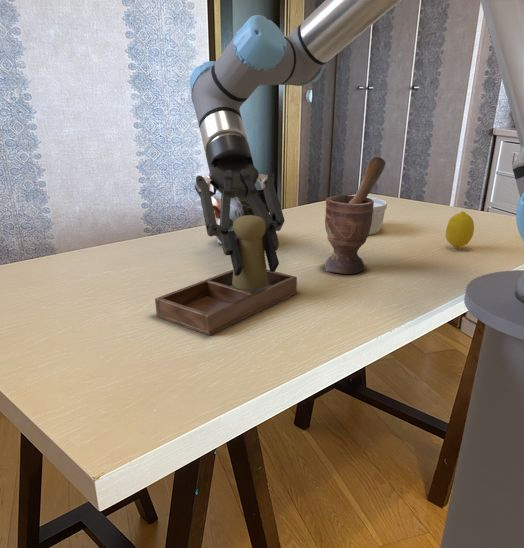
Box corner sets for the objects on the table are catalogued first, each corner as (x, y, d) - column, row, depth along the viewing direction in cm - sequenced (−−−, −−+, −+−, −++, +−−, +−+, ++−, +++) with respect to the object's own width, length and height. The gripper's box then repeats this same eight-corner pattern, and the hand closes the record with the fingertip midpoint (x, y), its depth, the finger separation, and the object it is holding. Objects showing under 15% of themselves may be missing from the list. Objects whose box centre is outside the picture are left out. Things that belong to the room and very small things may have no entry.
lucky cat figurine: (276, 250, 112) (250, 196, 103) (225, 271, 115) (195, 220, 105) (269, 215, 123) (244, 162, 114) (222, 235, 126) (195, 185, 116)
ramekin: (394, 229, 129) (397, 200, 126) (365, 240, 120) (368, 209, 117) (348, 221, 136) (350, 193, 133) (318, 231, 128) (319, 201, 125)
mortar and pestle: (342, 256, 109) (349, 153, 100) (381, 263, 105) (392, 156, 96) (314, 270, 101) (319, 159, 92) (355, 279, 96) (365, 163, 87)
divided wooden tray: (296, 293, 90) (297, 276, 88) (209, 335, 75) (208, 316, 73) (246, 280, 96) (246, 264, 94) (156, 316, 81) (154, 298, 80)
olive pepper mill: (273, 286, 86) (274, 219, 81) (238, 291, 85) (236, 222, 80) (261, 275, 91) (261, 211, 86) (227, 279, 90) (225, 213, 85)
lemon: (475, 249, 113) (482, 212, 109) (459, 254, 110) (465, 215, 106) (454, 244, 117) (460, 207, 113) (437, 248, 114) (443, 210, 111)
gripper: (271, 160, 96) (303, 274, 89) (171, 164, 91) (197, 286, 84) (282, 130, 89) (317, 252, 82) (174, 133, 84) (203, 264, 77)
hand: (256, 269), depth 83 cm, fingers closed on olive pepper mill, 5 cm apart
